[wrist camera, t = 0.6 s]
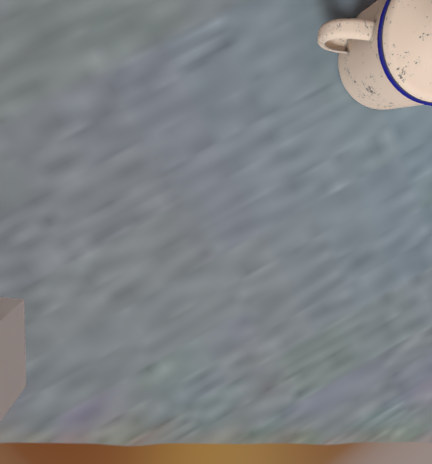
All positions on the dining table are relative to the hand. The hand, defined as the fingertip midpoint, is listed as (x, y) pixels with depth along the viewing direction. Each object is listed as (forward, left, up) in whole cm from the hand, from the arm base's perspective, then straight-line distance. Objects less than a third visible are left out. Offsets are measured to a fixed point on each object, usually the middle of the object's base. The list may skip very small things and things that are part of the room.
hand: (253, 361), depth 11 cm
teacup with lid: (-6, +17, -25) cm, 31 cm away
